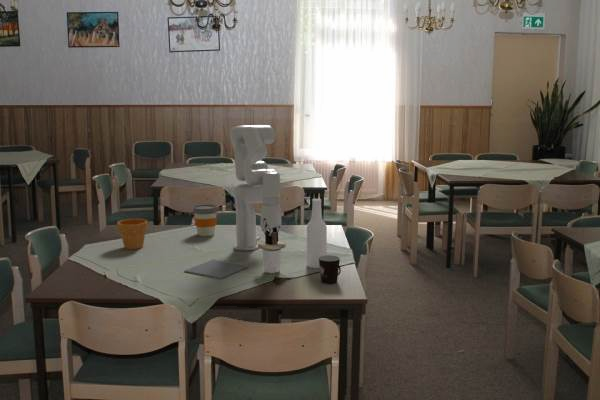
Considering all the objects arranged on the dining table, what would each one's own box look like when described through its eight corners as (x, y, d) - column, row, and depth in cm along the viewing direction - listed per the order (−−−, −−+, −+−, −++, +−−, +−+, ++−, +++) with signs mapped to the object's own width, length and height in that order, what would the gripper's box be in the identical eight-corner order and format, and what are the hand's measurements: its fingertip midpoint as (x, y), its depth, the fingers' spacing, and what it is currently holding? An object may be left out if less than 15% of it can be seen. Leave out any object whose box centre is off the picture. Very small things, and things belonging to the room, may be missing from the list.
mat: (213, 260, 284) (213, 259, 284) (249, 266, 274) (249, 265, 274) (184, 271, 267) (184, 270, 267) (221, 279, 257) (221, 277, 257)
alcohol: (304, 263, 278) (304, 198, 273) (323, 262, 280) (323, 197, 275) (309, 269, 270) (309, 201, 264) (328, 268, 272) (329, 200, 266)
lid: (267, 241, 274) (267, 228, 273) (291, 244, 268) (291, 231, 267) (252, 247, 264) (252, 234, 263) (276, 251, 258) (276, 237, 257)
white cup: (279, 274, 264) (278, 251, 262) (261, 273, 265) (260, 250, 263) (283, 268, 271) (283, 246, 269) (265, 267, 273) (265, 245, 271)
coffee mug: (317, 278, 257) (317, 255, 255) (338, 278, 258) (338, 254, 256) (320, 287, 246) (320, 263, 244) (342, 287, 247) (342, 262, 245)
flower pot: (113, 249, 303) (111, 223, 300) (128, 242, 316) (127, 217, 314) (139, 251, 299) (137, 225, 297) (153, 244, 313) (152, 219, 310)
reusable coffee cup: (195, 237, 326) (194, 209, 324) (193, 232, 338) (192, 205, 336) (219, 236, 329) (218, 208, 326) (216, 230, 341) (215, 204, 338)
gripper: (274, 196, 271) (275, 237, 275) (252, 203, 257) (253, 246, 261) (289, 198, 268) (289, 239, 271) (267, 205, 254) (268, 248, 257)
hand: (271, 242), depth 266 cm, fingers closed on lid, 3 cm apart
